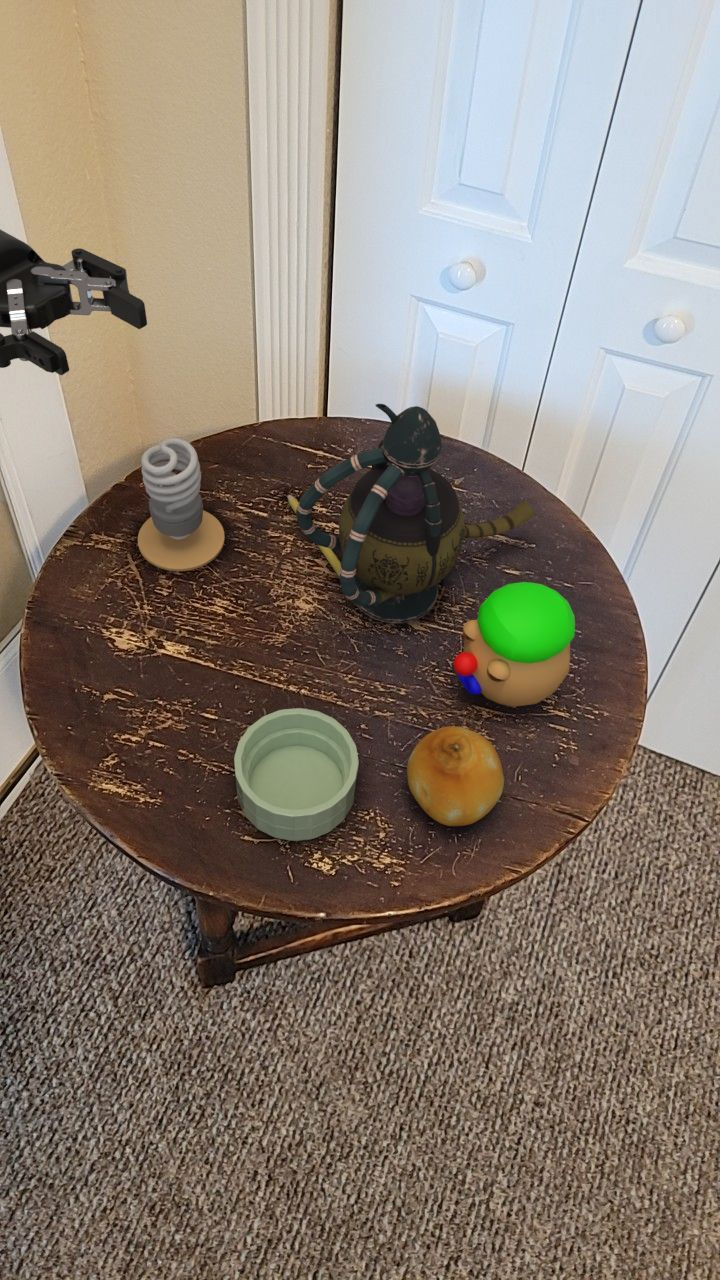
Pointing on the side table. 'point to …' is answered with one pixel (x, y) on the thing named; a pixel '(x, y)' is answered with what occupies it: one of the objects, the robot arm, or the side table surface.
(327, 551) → the pencil
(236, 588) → the side table surface
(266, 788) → the bowl
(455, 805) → the fruit
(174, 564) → the coaster
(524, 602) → the figurine
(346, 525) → the teapot
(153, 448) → the light bulb
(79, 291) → the robot arm
